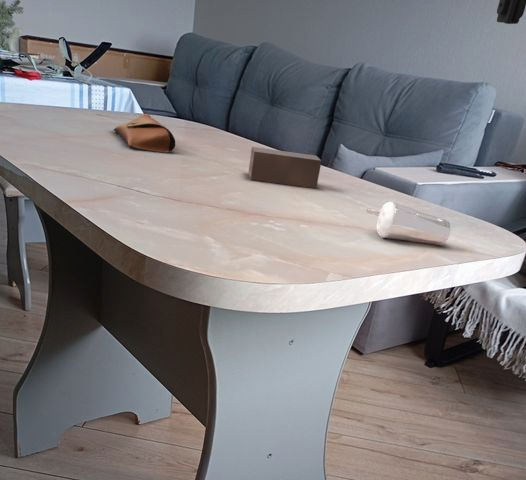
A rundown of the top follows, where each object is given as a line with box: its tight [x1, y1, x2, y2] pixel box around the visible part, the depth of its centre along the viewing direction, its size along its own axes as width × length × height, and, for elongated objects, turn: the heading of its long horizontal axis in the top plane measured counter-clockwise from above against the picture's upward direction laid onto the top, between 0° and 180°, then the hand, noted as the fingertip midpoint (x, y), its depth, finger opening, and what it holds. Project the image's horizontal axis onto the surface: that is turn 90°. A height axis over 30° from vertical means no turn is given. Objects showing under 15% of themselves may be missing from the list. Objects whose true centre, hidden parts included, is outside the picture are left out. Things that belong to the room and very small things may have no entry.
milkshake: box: [366, 201, 452, 246], centre depth 79 cm, size 5×5×10 cm
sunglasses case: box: [113, 113, 176, 154], centre depth 115 cm, size 18×7×7 cm
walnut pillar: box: [248, 146, 322, 189], centre depth 101 cm, size 4×4×11 cm
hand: (507, 22), depth 81 cm, fingers closed
